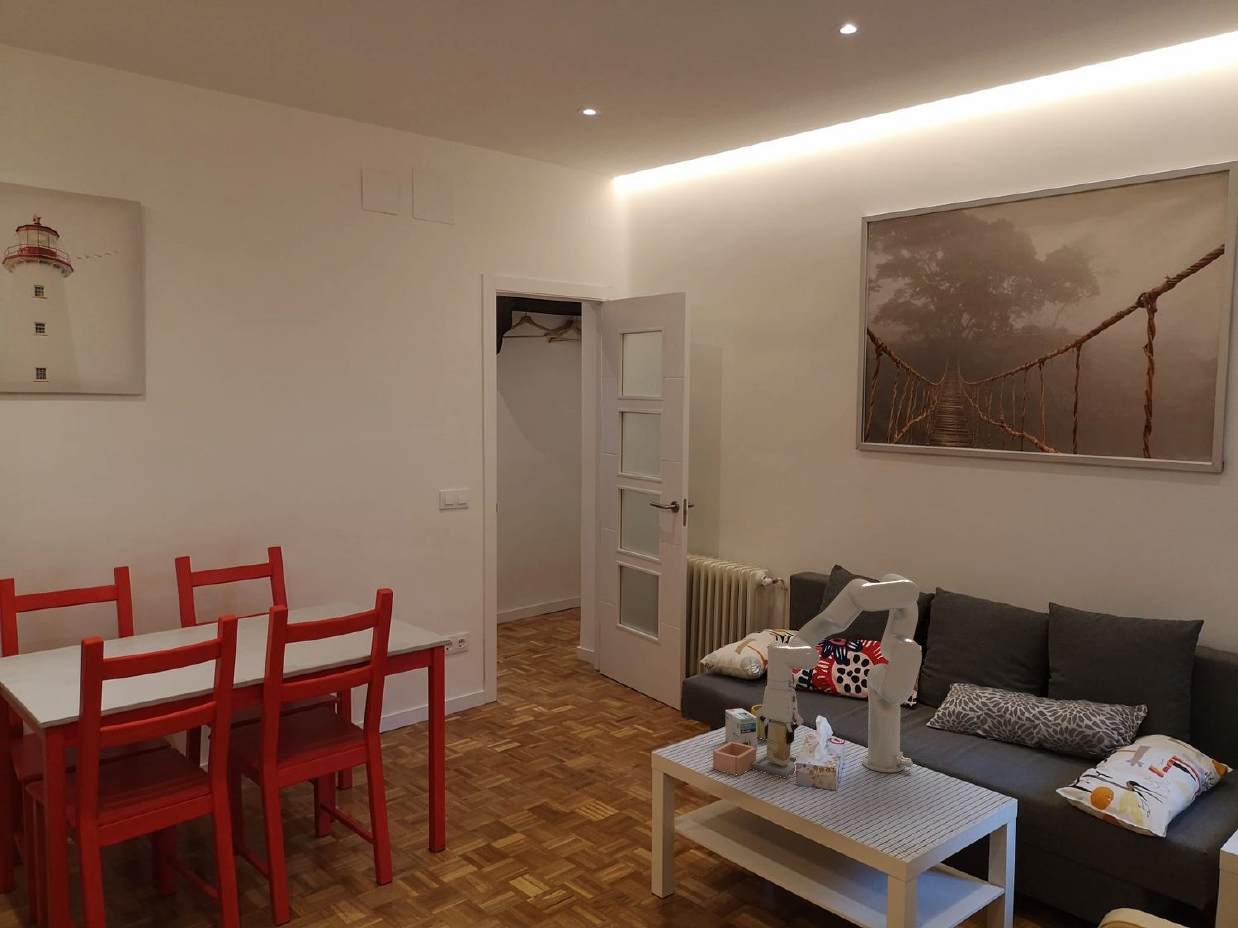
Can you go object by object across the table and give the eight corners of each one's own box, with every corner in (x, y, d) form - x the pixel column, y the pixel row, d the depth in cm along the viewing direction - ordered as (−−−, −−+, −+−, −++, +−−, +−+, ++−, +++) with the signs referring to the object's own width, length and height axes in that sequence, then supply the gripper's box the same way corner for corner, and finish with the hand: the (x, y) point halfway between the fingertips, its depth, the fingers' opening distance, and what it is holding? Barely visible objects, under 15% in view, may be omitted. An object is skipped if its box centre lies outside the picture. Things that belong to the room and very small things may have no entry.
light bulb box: (758, 749, 289) (758, 716, 288) (740, 751, 286) (740, 719, 286) (741, 738, 299) (742, 707, 298) (724, 741, 296) (724, 709, 296)
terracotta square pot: (756, 764, 275) (757, 747, 275) (738, 776, 266) (738, 758, 266) (730, 757, 281) (730, 740, 281) (711, 768, 272) (712, 751, 272)
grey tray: (805, 765, 275) (805, 759, 275) (786, 778, 264) (786, 772, 264) (771, 756, 282) (771, 750, 282) (751, 769, 272) (751, 762, 272)
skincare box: (765, 760, 274) (766, 721, 273) (773, 756, 277) (774, 718, 276) (783, 766, 269) (784, 727, 269) (791, 762, 273) (792, 723, 272)
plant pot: (786, 735, 302) (786, 707, 302) (774, 744, 293) (775, 715, 293) (758, 729, 307) (758, 702, 307) (746, 738, 299) (746, 710, 298)
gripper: (811, 685, 270) (810, 743, 270) (760, 676, 280) (760, 731, 281) (800, 691, 264) (799, 750, 265) (749, 681, 274) (748, 738, 275)
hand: (779, 740), depth 273 cm, fingers closed on skincare box, 6 cm apart
